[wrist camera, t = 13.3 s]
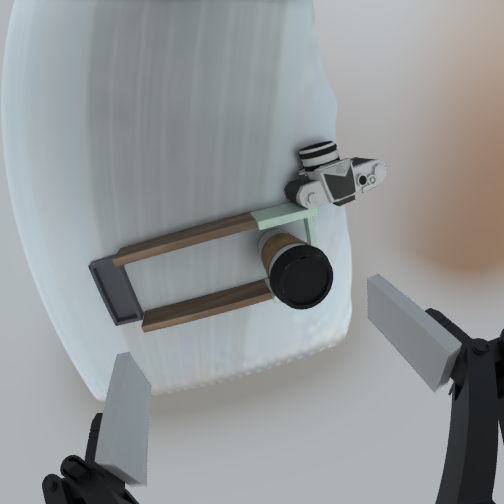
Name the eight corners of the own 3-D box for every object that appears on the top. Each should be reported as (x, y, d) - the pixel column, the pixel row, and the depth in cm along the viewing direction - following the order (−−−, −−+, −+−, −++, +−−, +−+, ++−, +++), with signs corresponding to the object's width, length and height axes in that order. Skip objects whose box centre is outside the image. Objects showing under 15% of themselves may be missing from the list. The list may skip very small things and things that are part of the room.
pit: (91, 262, 42) (88, 266, 40) (118, 253, 43) (116, 257, 41) (117, 320, 46) (115, 325, 45) (143, 314, 47) (142, 319, 45)
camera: (353, 131, 43) (388, 129, 34) (366, 177, 47) (400, 184, 38) (271, 158, 43) (292, 160, 33) (288, 207, 46) (312, 222, 37)
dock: (249, 212, 45) (257, 222, 39) (306, 198, 46) (323, 205, 40) (265, 285, 50) (274, 303, 44) (316, 269, 51) (332, 284, 45)
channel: (120, 249, 42) (112, 260, 38) (249, 212, 45) (255, 219, 40) (147, 316, 47) (144, 332, 43) (265, 285, 50) (272, 298, 45)
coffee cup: (292, 215, 46) (334, 242, 33) (302, 259, 50) (341, 300, 36) (244, 229, 46) (267, 264, 32) (257, 274, 49) (282, 322, 35)
